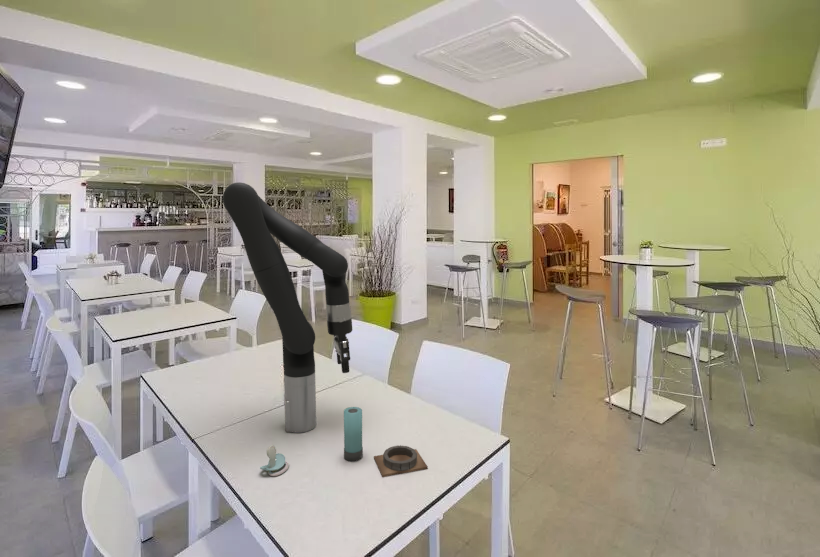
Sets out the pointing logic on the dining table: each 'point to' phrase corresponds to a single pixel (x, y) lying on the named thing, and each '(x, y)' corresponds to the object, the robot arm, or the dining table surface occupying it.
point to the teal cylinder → (353, 434)
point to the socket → (399, 461)
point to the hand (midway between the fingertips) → (343, 367)
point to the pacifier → (275, 462)
